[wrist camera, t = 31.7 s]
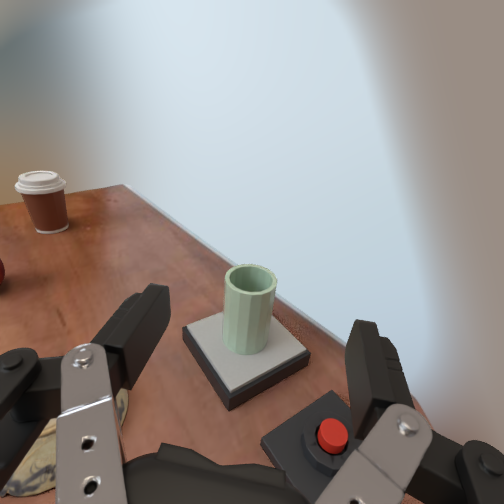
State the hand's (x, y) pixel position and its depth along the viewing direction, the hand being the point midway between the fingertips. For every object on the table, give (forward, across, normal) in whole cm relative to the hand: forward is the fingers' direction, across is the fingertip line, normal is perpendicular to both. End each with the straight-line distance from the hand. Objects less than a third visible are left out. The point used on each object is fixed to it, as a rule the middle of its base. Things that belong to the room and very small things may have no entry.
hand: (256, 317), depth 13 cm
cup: (+20, +3, +23) cm, 31 cm away
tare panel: (+9, -8, +26) cm, 28 cm away
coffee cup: (+45, +52, +26) cm, 73 cm away
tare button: (+9, -9, +23) cm, 26 cm away
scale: (+20, +3, +26) cm, 33 cm away
